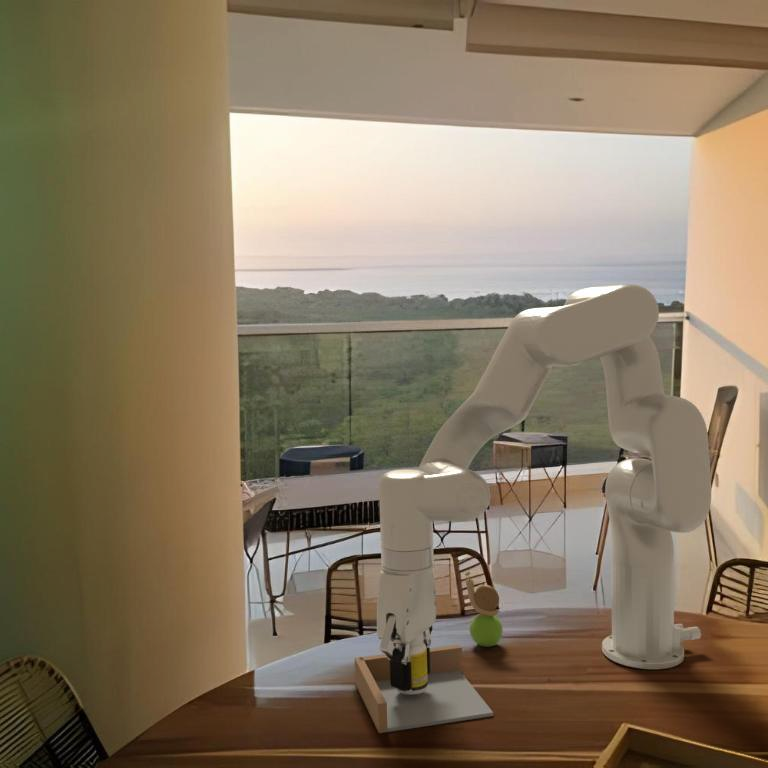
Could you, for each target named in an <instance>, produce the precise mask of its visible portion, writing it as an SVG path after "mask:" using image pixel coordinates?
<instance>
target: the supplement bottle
mask: <svg viewBox="0 0 768 768" xmlns="http://www.w3.org/2000/svg"><path fill="white" fill-rule="evenodd" d="M396 638H399V639H401V636H400V635H396ZM423 641H424V636H423V633H422V634H420V635H419V636H417V637H416V638H415V639H413V640H412V641H410V649H409V659H408V662H411V675H412V688H411V689H410V690H409V691H407V690H403V689H399V688H396V690H397V691H398V692H400V693H402V694H408V695H413V694H420V693H422V692H424V691H425V690H426V689H427V687H428V676H427V648H426V645H425V643H424V642H423ZM402 647H403V645H400V644H396V648H398V649H399V650H400V651H401V652H402Z"/></svg>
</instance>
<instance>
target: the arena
mask: <svg viewBox="0 0 768 768" xmlns="http://www.w3.org/2000/svg"><path fill="white" fill-rule="evenodd" d="M429 648H430V647H429ZM427 676H428V687H427V689H426V690H425V691H424V692H422V693H420V694H413V695H408V694H402V693H400V692H398V691H397V690H396V688H395V687H392V686H391V683H390V661H388V657H387V656H386V654H385V653H383V654H382V653H381V654H375V655H368V656H367V655H366V656H359V657H354V682H355V683H354V684H355V687H356V688H357V690H358V692H359V694H360V697H361V699H362V701H363V703H364V706H365V707H366V709H367V711H368V713H369V715H370V717H371V720H372V722H373V723H374V726H375V728H376V731H377V732H378V734H382V733H390V732H397V731H403V730H404V731H405V730H409V729H417V728H422V727H428V726H429V727H430V726H436V725H442V724H443V725H444V724H448V723H456V722H461V721H467V720H475V719H481V718H488V717H494V712H493V710H492V709H491V708H490V706H489V705H488V704H487V702H486V701H485V700H484V699H483V698H482V697H481V696H480V695H481V694H479V693H478V691H477V690H476V688H475V687H473V685H472V684H471V683H470V681H469V679H467V678H466V676H465V675H464V674H463V647H462V646H461V645H460V644H453V645H446V646H439V647H431V648H430V673H429V674H428V675H427Z"/></svg>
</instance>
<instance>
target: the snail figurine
mask: <svg viewBox="0 0 768 768" xmlns="http://www.w3.org/2000/svg"><path fill="white" fill-rule="evenodd" d="M470 574H471V572H470V571H467V572H465V573H464V575H465V578H466V579H465V585H466V588H467V595H468V599H469V601H470V605H471V606H472V608H473V609H474V610H475V611H476V612H477V613H479V614H477V615H476V616H475V617H474V618H473V619H472V620H471V622H470V625H469V634H470V637H471V638H472V641H474V642H475V644H477V645H478V646H480V647H485V648H489V647H492V646H495V645H496V644H498V643H499V642H500V640H501V638H502V636H503V632H504V631H503V625H502V622H501V621H500V619H499V618H498V617H497V615H498V614H499V613H500V610H499V609H497V607H498V606H499V604H500V597H499V592H498V591H497V590H496V589H495V588H494V587H493V586H491V585H489V584H482V585H480V586H478V587H477V589H476V590H475V588H474V585H475V582H474V580H473V579H472V578H469V577H470V576H469V575H470Z"/></svg>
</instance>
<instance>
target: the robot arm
mask: <svg viewBox="0 0 768 768" xmlns="http://www.w3.org/2000/svg"><path fill="white" fill-rule="evenodd" d="M659 315H660V310H659V304H658V301H657V299H656V297H655V296H654V295H653V294H652V293H651V291H650V290H648V289H647V288H645V287H643V286H641V285H637V284H614V285H600V286H591V287H585V288H582V289H579V290H577V291H575V292H573V293H572V294H570V295H569V296H568V297H567V299H566V300H565V303H564V305H562V306H551V307H550V306H546V307H544V306H543V307H534V308H528V309H525V310H523V311H520V312H519V313H518V314H517V315H516V316H515V317H514V318H513V319H512V320H511V322H510V323H509V325H508V327H507V328H506V331H505V332H504V335H503V336H502V337H501V340H500V342H499V344H498V346H497V347H496V350H495V351H494V353H493V355H492V357H491V359H490V361H489V363H488V364H487V367H486V369H485V370H484V373H482V376H481V378H480V380H479V382H478V384H477V386H476V387H475V389H474V391H473V392H472V394H471V395H470V396H469V397H468V398H467V399H466V400H465V401H464V402H463V403H462V404H461V405H459V407H458V408H457V409H456V410H455V411H454V412H453V414H452V415H450V417H448V419H447V420H446V421H445V422H444V423H443V425H442V426H441V427H440V429H439V430H438V431H437V432H436V434H435V436H434V437H433V439H432V441H431V443H430V445H429V447H428V449H427V450H426V451H425V454H424V456H423V457H422V460H421V461H420V464H419V466H418V469H409V468H407V469H405V468H404V469H395V470H391V471H388V472H385V473H383V475H381V477H380V479H379V483H378V484H379V485H378V489H379V490H378V493H379V494H378V495H379V498H378V499H379V527H380V532H379V533H380V554H381V555H380V559H381V560H380V563H381V565H380V566H381V569H382V570H380V574H379V578H378V587H377V588H378V590H377V600H376V602H377V603H376V635H377V638H378V639H379V640H381V642H380V645H379V650H380V651H381V653H383V654H386V656H387V657H388V661H390V683H391V686H392V687H395V688H399V689H403V690H407V691H409V690H410V689H411V688H412V675H411V662H408V659H409V649H410V641H412V640H413V639H415V638H416V637H417V636H419V635H420V634H422V633H423V636H424V641H423V642H424V643H425V645H426V648H427V675H428V674H429V673H430V646H431V644H432V638H431V635H432V631H433V625H434V624H435V622H436V618H437V594H436V583H435V582H436V581H435V574H434V573H435V572H434V566H435V565H434V564H435V562H434V561H435V560H434V558H435V557H434V556H435V555H434V524H433V523H434V521H436V522H440V521H443V522H455V523H457V522H468V521H469V522H470V521H472V520H475V519H477V518H479V517H480V516H482V515H483V514H484V513H485V512H486V511H487V510H488V507H489V505H490V501H491V497H492V496H491V489H490V486H489V484H488V482H487V481H486V480H485V478H484V477H482V476H481V474H479V473H477V472H476V471H474V470H472V469H470V468H469V467H470V465H471V464H472V461H473V460H474V458H475V457H476V456H477V453H479V451H480V450H481V449H482V448H483V447H484V446H485V444H486V443H488V442H489V441H490V440H491V439H493V438H494V437H496V436H498V435H500V434H501V433H503V432H506V431H508V430H511V429H512V428H514V427H515V426H517V425H519V424H520V423H522V422H523V421H524V420H526V418H527V417H528V415H529V413H530V411H531V410H532V409H531V408H532V407H533V405H534V403H535V402H536V399H537V397H538V395H539V393H540V391H541V389H542V387H543V385H544V383H545V381H546V380H547V378H548V376H549V374H550V372H551V370H552V368H553V367H561V368H562V367H564V368H565V367H573V366H576V365H580V364H583V363H587V362H591V361H593V360H596V359H600V362H601V364H602V369H603V374H604V379H605V392H606V403H607V404H606V405H607V415H608V416H607V417H608V418H607V419H608V427H609V433H610V436H611V439H612V441H613V442H614V443H615V444H616V446H618V447H619V448H621V449H623V450H626V451H628V452H632V453H635V454H640V455H644V456H650V458H651V460H650V459H646V458H635V457H634V458H627V459H624V460H622V461H619V462H618V463H617V464H615V465H614V466H613V467H612V468H611V469H610V471H609V473H608V475H607V476H606V481H605V488H604V489H605V490H604V494H605V501H606V508H607V511H608V513H607V514H608V517H609V522H610V523H609V525H610V536H611V537H610V538H611V540H610V541H611V634H610V635H609V636H606V637H605V638H604V639H603V640H602V643H601V651H602V653H603V654H604V655H605V656H606V657H607V658H608V659H609V660H611V661H613V662H615V663H616V664H620V665H622V666H626V667H629V668H630V667H631V668H633V669H634V668H635V669H641V670H663V669H670V668H674V667H676V666H678V665H680V664H681V663H683V662H684V659H685V649H684V647H683V646H682V645H681V644H682V643H684V642H685V641H688V640H689V641H692V640H699V639H701V637H702V632H701V630H700V627H698V626H689V627H684V624H682V623H675V621H674V620H675V615H674V614H675V607H674V606H675V598H674V597H675V566H674V565H675V548H674V547H675V546H674V539H673V535H672V532H673V533H678V534H682V533H685V534H686V533H690V532H693V531H695V530H697V529H699V528H700V527H701V526H702V525H703V524H704V523H705V521H706V519H707V518H708V516H709V514H710V510H711V509H710V508H711V504H712V479H711V478H712V477H711V463H710V461H711V459H710V450H709V449H710V447H709V436H708V428H707V424H706V421H705V418H704V417H703V415H702V412H701V411H700V409H698V407H697V406H696V405H695V404H694V403H693V402H691V401H689V400H687V399H686V398H684V397H683V398H682V397H680V396H675V395H669V394H668V395H666V393H665V389H664V383H663V375H662V367H661V360H660V357H659V356H660V355H659V352H658V349H657V346H656V345H655V343H654V341H653V339H652V338H651V336H650V335H651V334H652V333H653V331H654V330H655V328H656V326H657V324H658V321H659ZM396 635H400V636H401V639H399V638H396ZM396 644H400V645H403V647H402V652H401V651H400V650H399V649H398V648H396Z"/></svg>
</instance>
